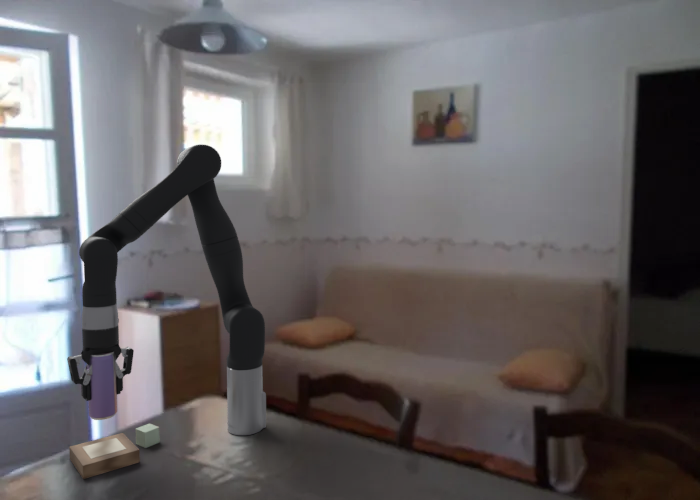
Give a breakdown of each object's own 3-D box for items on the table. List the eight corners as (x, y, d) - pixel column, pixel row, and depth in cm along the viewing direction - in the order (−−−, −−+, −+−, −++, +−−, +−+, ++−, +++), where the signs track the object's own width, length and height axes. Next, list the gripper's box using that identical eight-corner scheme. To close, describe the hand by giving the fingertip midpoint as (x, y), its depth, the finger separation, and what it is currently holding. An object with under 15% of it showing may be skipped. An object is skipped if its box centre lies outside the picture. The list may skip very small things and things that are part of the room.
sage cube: (149, 438, 135) (149, 423, 135) (159, 442, 133) (159, 427, 133) (135, 444, 132) (135, 428, 132) (145, 448, 130) (145, 432, 130)
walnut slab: (123, 444, 132) (122, 432, 131) (139, 462, 123) (139, 449, 122) (69, 459, 124) (69, 446, 124) (83, 479, 115) (82, 465, 115)
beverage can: (106, 421, 119) (104, 356, 118) (83, 419, 120) (80, 354, 119) (122, 411, 125) (121, 349, 124) (100, 409, 126) (98, 347, 125)
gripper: (127, 317, 128) (129, 385, 130) (61, 326, 119) (64, 399, 120) (138, 323, 123) (140, 394, 124) (69, 332, 113) (72, 408, 115)
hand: (102, 396), depth 122 cm, fingers closed on beverage can, 6 cm apart
